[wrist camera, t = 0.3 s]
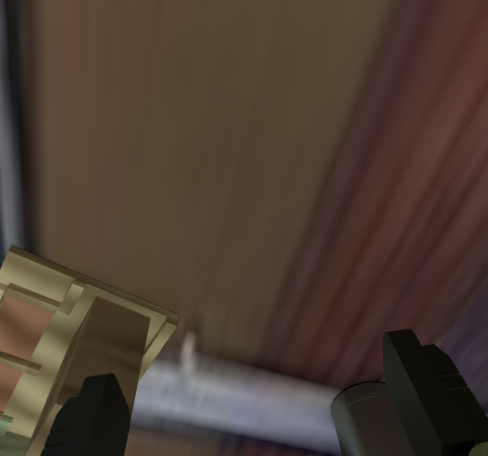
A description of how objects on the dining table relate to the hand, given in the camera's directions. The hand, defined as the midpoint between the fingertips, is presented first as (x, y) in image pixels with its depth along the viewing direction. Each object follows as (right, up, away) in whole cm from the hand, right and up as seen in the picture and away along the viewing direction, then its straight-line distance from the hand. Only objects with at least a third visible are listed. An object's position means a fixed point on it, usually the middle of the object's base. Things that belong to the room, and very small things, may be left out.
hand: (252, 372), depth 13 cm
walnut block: (-15, -7, +34) cm, 37 cm away
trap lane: (-22, -12, +37) cm, 45 cm away
